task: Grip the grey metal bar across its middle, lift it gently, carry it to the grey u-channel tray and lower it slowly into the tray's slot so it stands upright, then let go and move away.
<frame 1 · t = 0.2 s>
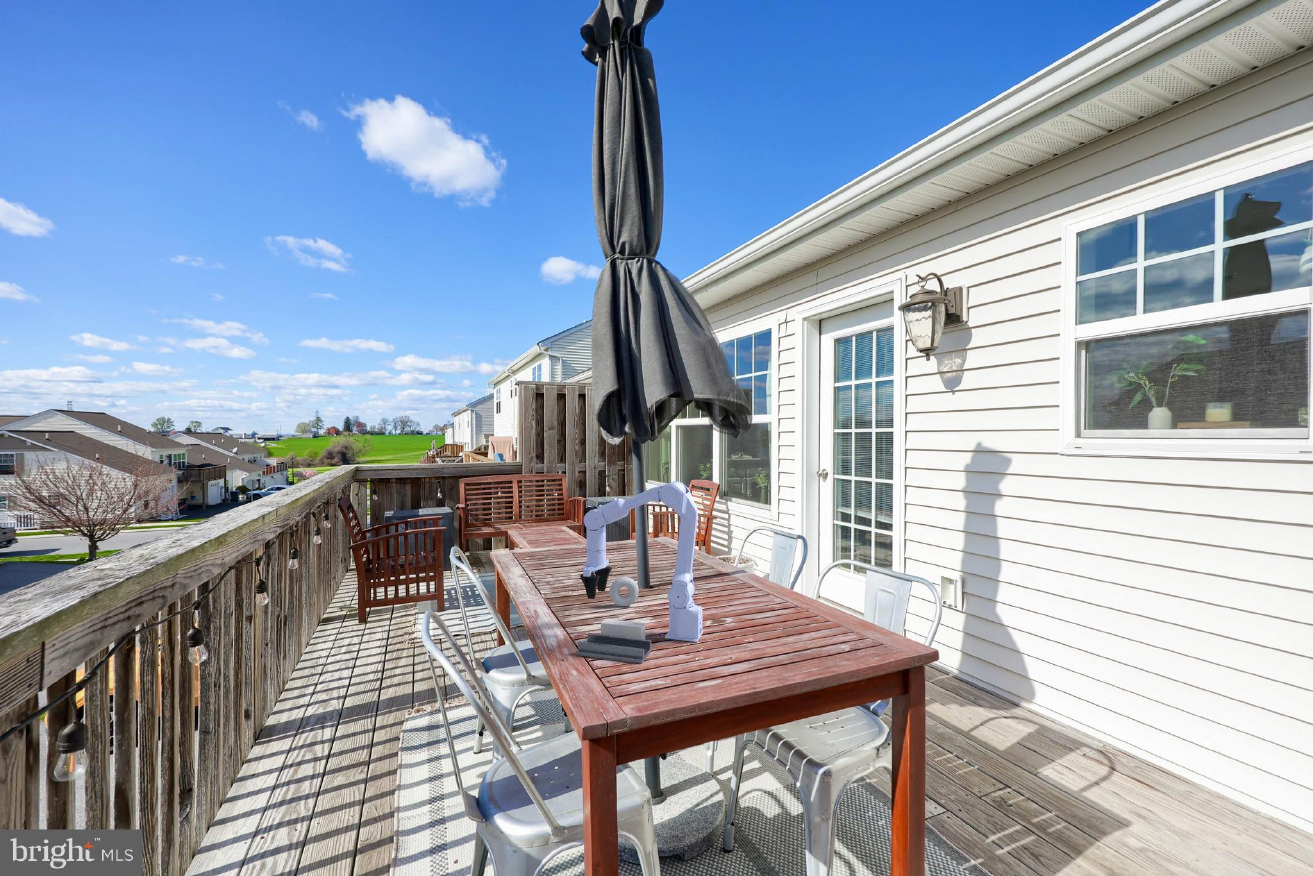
hand: (596, 594, 162), 10 cm above the table, tool pointing down, fingers open, 7 cm apart
grey metal bar: (623, 640, 152), on the table
grey u-channel tray: (614, 652, 143), on the table
donut: (624, 607, 182), on the table
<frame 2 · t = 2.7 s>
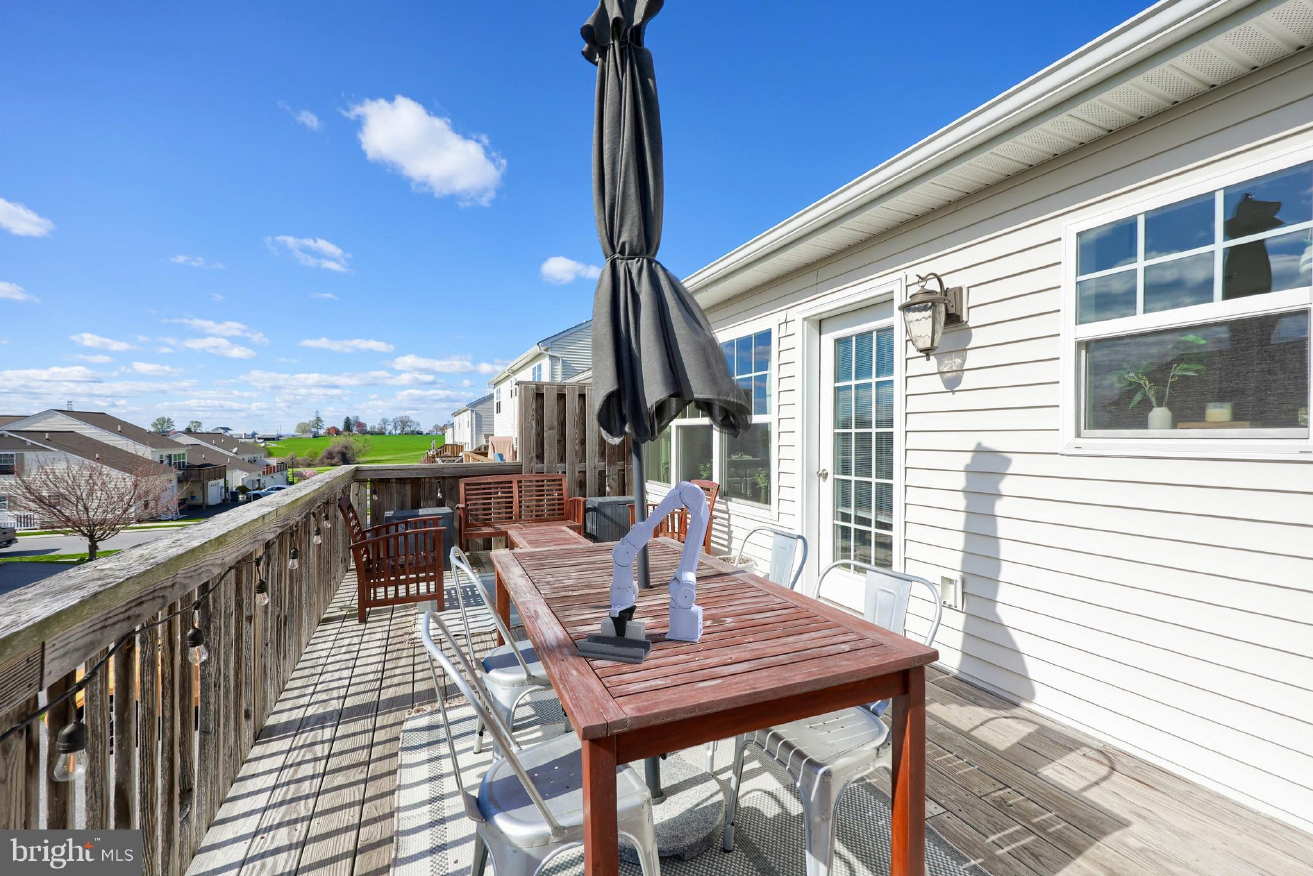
hand: (623, 634, 152), 2 cm above the table, tool pointing down, fingers closed on grey metal bar, 3 cm apart
grey metal bar: (623, 640, 152), on the table, touching gripper
everything else where it was.
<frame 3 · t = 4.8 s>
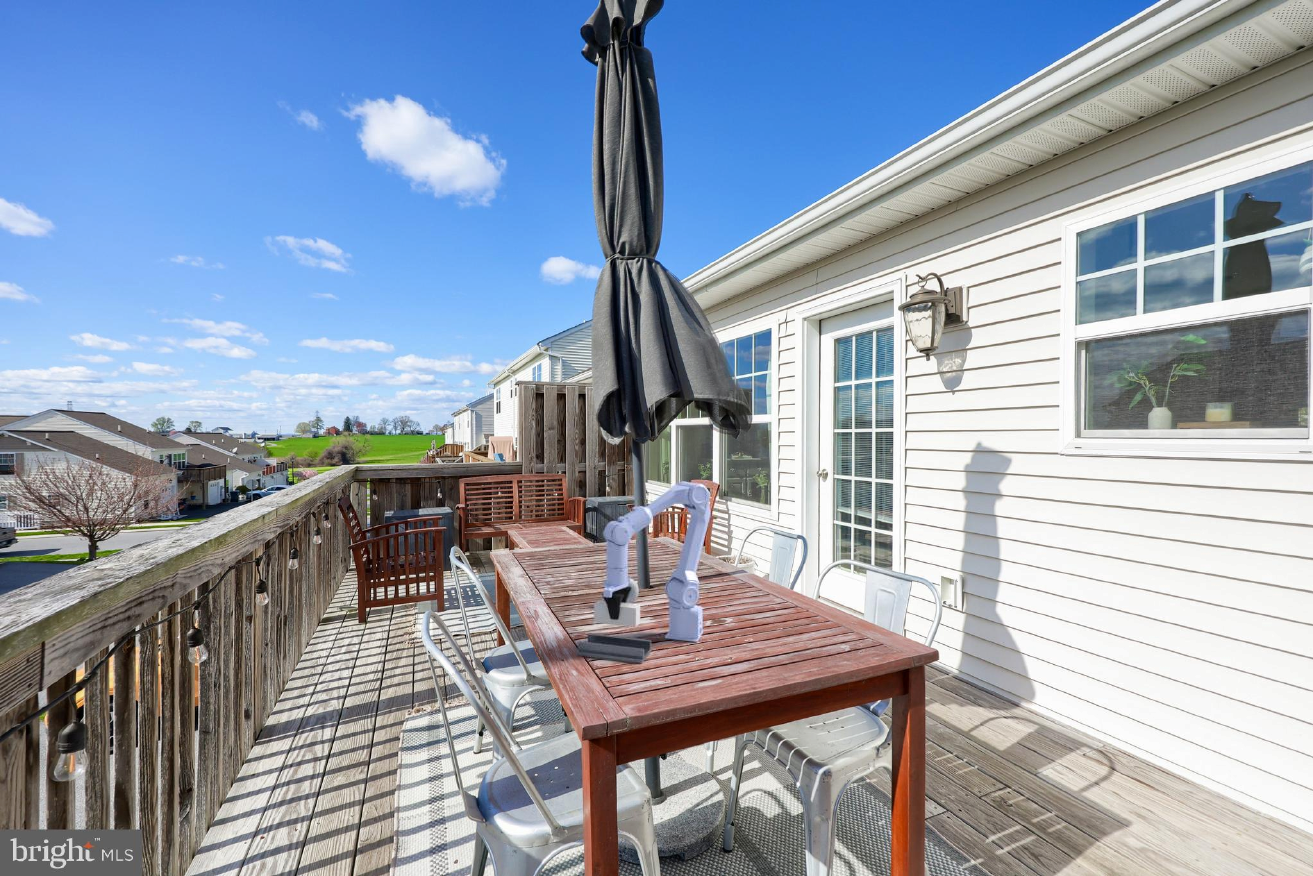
hand: (617, 616, 146), 9 cm above the table, tool pointing down, fingers closed on grey metal bar, 3 cm apart
grey metal bar: (616, 622, 146), point 7 cm above the table, touching gripper
everything else where it was.
when the fingers open (4 cm above the table, at t = 7.2 s): grey metal bar drops 1 cm, resting on grey u-channel tray.
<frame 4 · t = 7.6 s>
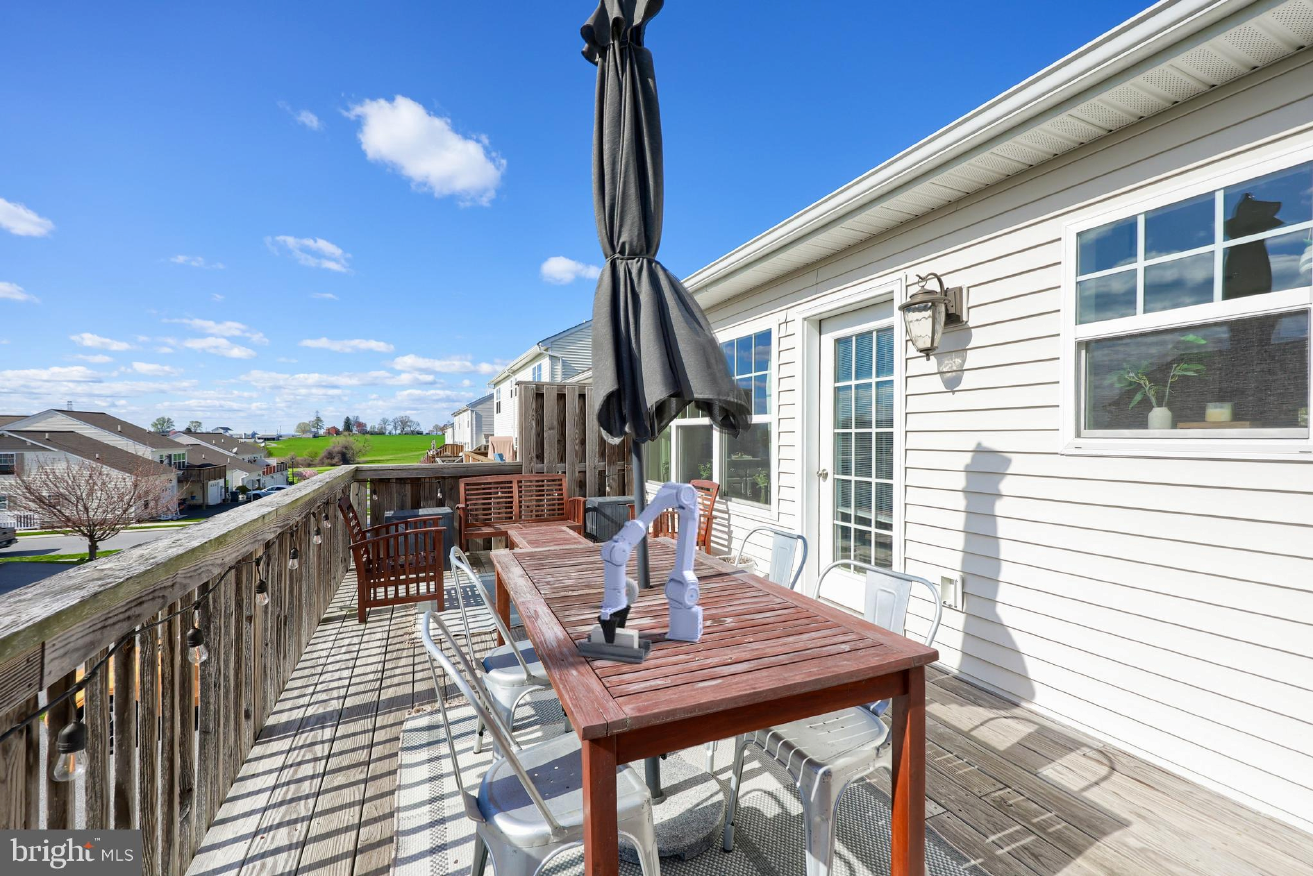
hand: (614, 638, 143), 4 cm above the table, tool pointing down, fingers open, 7 cm apart
grey metal bar: (614, 648, 143), point 1 cm above the table, touching grey u-channel tray
everything else where it was.
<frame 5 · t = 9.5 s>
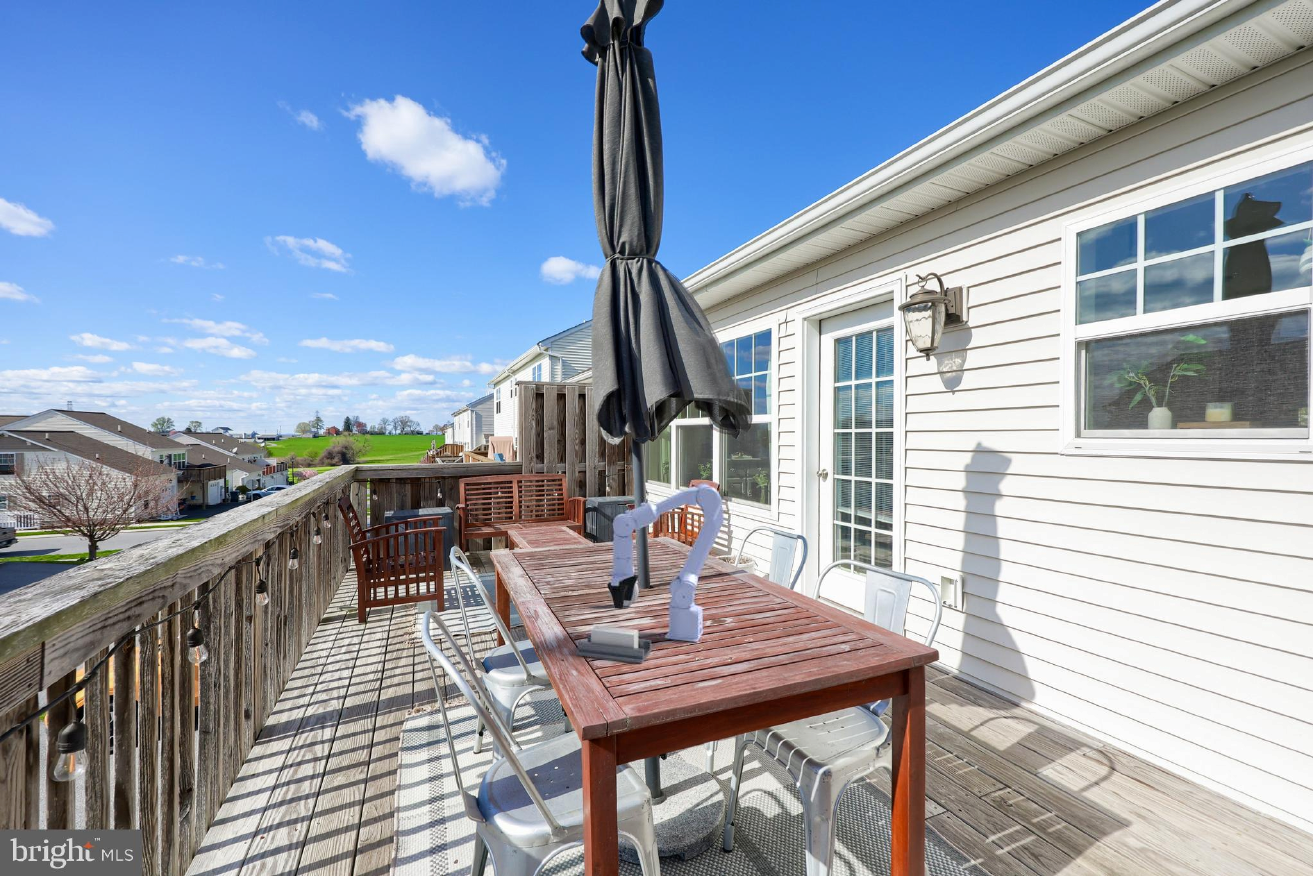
hand: (623, 604, 154), 9 cm above the table, tool pointing down, fingers open, 7 cm apart
nothing on the table moved.
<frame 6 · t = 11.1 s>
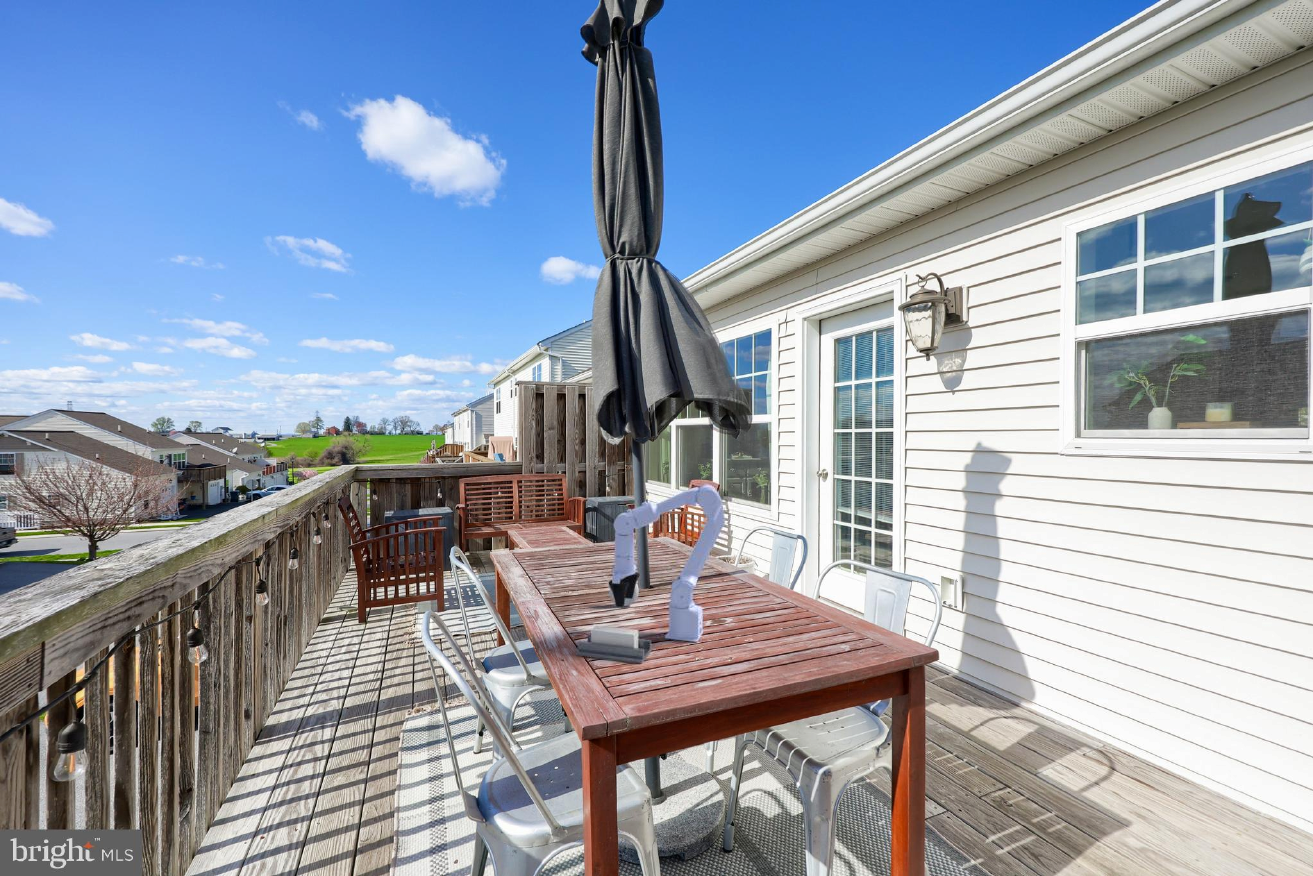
hand: (624, 602, 156), 9 cm above the table, tool pointing down, fingers open, 7 cm apart
nothing on the table moved.
at the end: grey metal bar 0.0 cm off-centre on the grey u-channel tray, point 1.0 cm above the grey u-channel tray's base; grey metal bar tilted 0°; the gripper is holding nothing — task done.
